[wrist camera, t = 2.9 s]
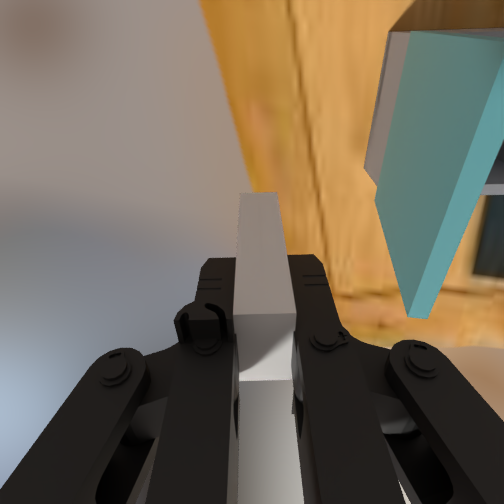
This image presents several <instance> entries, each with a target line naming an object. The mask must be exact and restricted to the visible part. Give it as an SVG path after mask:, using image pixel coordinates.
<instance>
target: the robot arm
mask: <svg viewBox="0 0 504 504" xmlns="http://www.w3.org/2000/svg"><path fill="white" fill-rule="evenodd" d="M174 324H175V328H176V332H177V336H178V340H179V342H178V343H176V344H175V345H173V346H172V347H170V348H167V349H165V350H162V351H159V352H156V353H152V354H149V355H146V356H143V355H142V354H141V353H140V352H139V351H137V350H135V349H133V348H119V349H115V350H112V351H109V352H107V353H106V354H104V355H102V356H101V357H99V358H98V359H97V360H96V361H95V362H94V363H93V364H92V365H91V366H90V367H89V369H88V370H87V372H86V373H85V375H84V376H83V377H82V378H81V380H80V381H79V382H78V384H77V385H76V387H75V388H74V389H73V391H72V392H71V394H70V395H69V396H68V398H67V399H66V400H65V402H64V403H63V404H62V406H61V407H60V408H59V410H58V411H57V413H56V414H55V415H54V417H53V418H52V420H51V421H50V422H49V424H48V425H47V426H46V428H45V429H44V430H43V432H42V433H41V434H40V436H39V437H38V439H37V440H36V441H35V443H34V444H33V445H32V447H31V448H30V449H29V451H28V452H27V454H26V455H25V456H24V458H23V459H22V460H21V462H20V463H19V464H18V466H17V467H16V469H15V470H14V471H13V473H12V474H11V475H10V477H9V478H8V480H7V481H6V482H5V484H4V485H3V486H2V488H1V489H0V504H135V503H136V500H137V498H138V496H139V493H140V491H141V489H142V487H143V484H144V482H145V480H146V477H147V475H148V473H149V470H150V468H151V466H152V464H153V461H154V465H153V470H152V475H151V479H150V484H149V489H148V493H147V498H146V502H145V504H237V498H238V456H239V452H238V451H239V412H240V410H239V409H240V399H239V381H250V380H251V381H252V380H291V379H292V378H293V387H294V392H293V404H292V414H294V415H295V423H296V433H297V442H298V450H299V459H300V467H301V468H300V469H301V478H302V486H303V496H304V504H406V503H405V500H404V497H403V494H402V491H401V487H400V484H401V485H402V487H403V489H404V491H405V493H406V495H407V497H408V499H409V501H410V502H411V504H504V422H503V420H502V419H501V418H500V417H499V416H498V415H497V414H496V412H495V411H494V410H493V409H492V408H491V407H490V406H489V404H488V403H487V402H486V401H485V400H484V399H483V398H482V397H481V395H480V394H479V393H478V392H477V391H476V390H475V389H474V387H473V386H472V385H471V384H470V383H469V382H468V381H467V379H466V378H465V377H464V376H463V375H462V374H461V373H460V371H458V369H457V368H456V367H455V366H454V365H453V364H452V363H451V361H450V360H449V359H448V358H447V357H446V356H445V355H444V354H443V353H442V352H440V351H439V350H438V349H437V348H435V347H433V346H431V345H429V344H427V343H425V342H421V341H417V340H402V341H400V342H398V343H396V344H394V346H393V347H392V349H387V348H383V347H379V346H374V345H370V344H367V343H364V342H361V341H359V340H358V339H356V338H354V337H353V336H351V335H350V333H349V332H348V331H347V330H346V329H345V328H344V327H343V326H342V324H341V322H340V320H339V317H338V313H337V310H336V307H335V303H334V300H333V297H332V293H331V290H330V287H329V283H328V280H327V277H326V273H325V270H324V267H323V264H322V263H321V262H320V260H319V259H318V258H317V257H316V256H315V255H314V254H307V255H287V251H286V245H285V239H284V233H283V226H282V220H281V214H280V208H279V201H278V195H277V192H265V193H240V201H239V217H238V236H237V253H236V257H234V258H209V259H208V260H207V261H206V263H205V264H204V265H203V266H202V267H201V271H200V276H199V282H198V286H197V291H196V296H195V301H194V302H192V303H190V304H188V305H185V306H184V307H183V308H182V309H181V310H180V311H179V312H178V313H177V315H176V317H175V319H174ZM154 459H155V460H154ZM398 480H399V481H398ZM399 482H400V484H399Z"/></svg>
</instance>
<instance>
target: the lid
mask: <svg viewBox="0 0 504 504" xmlns="http://www.w3.org/2000/svg"><path fill="white" fill-rule="evenodd" d="M503 140H504V38H502V37H491V36H481V35H470V34H460V33H449V32H439V31H428V30H423V31H411V33H410V38H409V42H408V47H407V52H406V56H405V61H404V66H403V70H402V75H401V80H400V84H399V89H398V94H397V98H396V103H395V107H394V112H393V117H392V121H391V126H390V131H389V135H388V140H387V145H386V149H385V154H384V159H383V163H382V168H381V173H380V177H379V182H378V186H377V191H376V196H375V204H376V207H377V211H378V214H379V218H380V222H381V225H382V229H383V232H384V236H385V239H386V243H387V246H388V250H389V253H390V257H391V260H392V264H393V267H394V271H395V274H396V278H397V281H398V285H399V289H400V292H401V296H402V299H403V303H404V306H405V310H406V313H407V317H412V318H422V319H428V317H429V314H430V312H431V309H432V307H433V305H434V302H435V300H436V298H437V295H438V293H439V291H440V288H441V286H442V284H443V281H444V279H445V276H446V274H447V272H448V269H449V267H450V265H451V262H452V260H453V258H454V255H455V253H456V251H457V248H458V246H459V243H460V241H461V239H462V236H463V234H464V232H465V229H466V227H467V225H468V222H469V220H470V218H471V215H472V213H473V211H474V208H475V206H476V203H477V201H478V199H479V196H480V194H481V192H482V189H483V187H484V185H485V182H486V180H487V178H488V175H489V173H490V170H491V168H492V166H493V163H494V161H495V159H496V156H497V154H498V152H499V149H500V147H501V145H502V142H503Z"/></svg>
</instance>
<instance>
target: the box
mask: <svg viewBox="0 0 504 504" xmlns="http://www.w3.org/2000/svg"><path fill="white" fill-rule="evenodd" d="M421 31H423V30H421ZM428 31H439V32H449V33H460V34H470V35H481V36H491V37H502V38H504V28H476V29H448V30H428ZM410 33H411V31H393V32H388V37H387V42H386V48H385V53H384V59H383V64H382V70H381V75H380V81H379V86H378V92H377V97H376V103H375V109H374V114H373V120H372V125H371V131H370V136H369V142H368V147H367V153H366V158H365V164H364V169H365V171H366V172H367V173H368V175H369V176H370V177H371V179H372V180H373V181H374V183H375V184H376V185H377V186H378V182H379V177H380V173H381V168H382V163H383V159H384V154H385V149H386V145H387V140H388V135H389V131H390V126H391V121H392V117H393V112H394V107H395V103H396V98H397V94H398V89H399V84H400V80H401V75H402V70H403V66H404V61H405V56H406V52H407V47H408V42H409V38H410ZM480 195H504V140H503V142H502V145H501V147H500V149H499V152H498V154H497V156H496V159H495V161H494V163H493V166H492V168H491V170H490V173H489V175H488V178H487V180H486V182H485V185H484V187H483V189H482V192H481V194H480Z"/></svg>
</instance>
